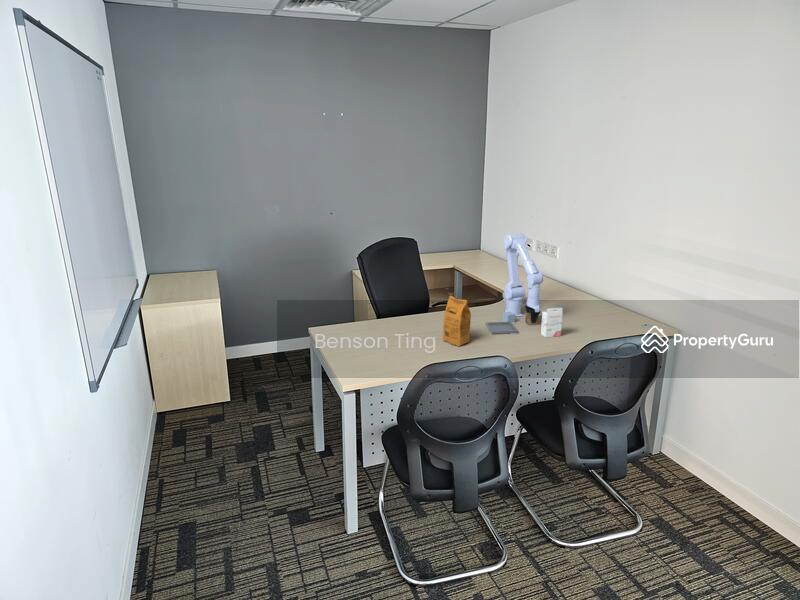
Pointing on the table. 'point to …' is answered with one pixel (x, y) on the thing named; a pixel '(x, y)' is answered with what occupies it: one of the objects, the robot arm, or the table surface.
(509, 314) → the slate blue block
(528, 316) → the walnut cube
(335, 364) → the table surface
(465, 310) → the coffee package
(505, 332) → the tray
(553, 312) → the ink cartridge box
